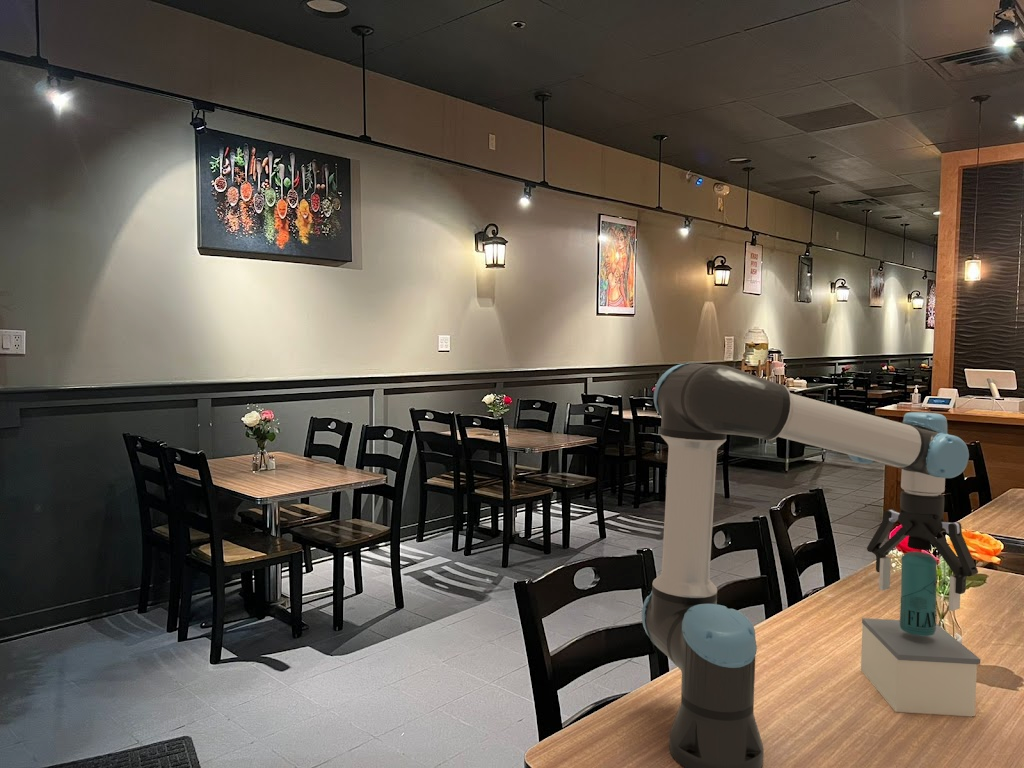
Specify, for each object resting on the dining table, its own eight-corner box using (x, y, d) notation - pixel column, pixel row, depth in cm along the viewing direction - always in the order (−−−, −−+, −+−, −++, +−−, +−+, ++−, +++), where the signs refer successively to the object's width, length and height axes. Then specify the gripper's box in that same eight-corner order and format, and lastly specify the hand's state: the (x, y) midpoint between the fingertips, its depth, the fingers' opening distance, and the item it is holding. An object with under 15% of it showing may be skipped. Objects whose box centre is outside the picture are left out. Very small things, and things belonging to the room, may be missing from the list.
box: (895, 711, 139) (897, 659, 139) (860, 670, 157) (862, 623, 157) (974, 716, 138) (977, 663, 137) (930, 673, 156) (932, 627, 155)
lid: (898, 659, 138) (898, 654, 138) (861, 622, 157) (862, 618, 157) (980, 664, 137) (980, 659, 137) (933, 626, 155) (934, 621, 155)
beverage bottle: (902, 641, 144) (904, 539, 144) (895, 629, 151) (898, 531, 150) (940, 645, 142) (942, 542, 142) (932, 633, 149) (934, 534, 148)
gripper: (1001, 501, 137) (996, 614, 138) (871, 480, 158) (868, 578, 159) (982, 506, 133) (976, 622, 134) (851, 483, 154) (847, 584, 155)
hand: (917, 599), depth 146 cm, fingers open, 13 cm apart
